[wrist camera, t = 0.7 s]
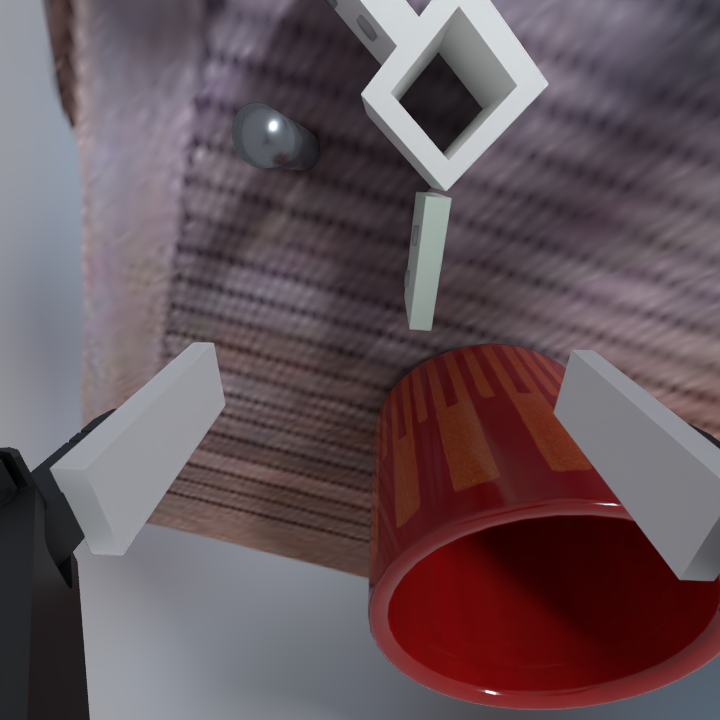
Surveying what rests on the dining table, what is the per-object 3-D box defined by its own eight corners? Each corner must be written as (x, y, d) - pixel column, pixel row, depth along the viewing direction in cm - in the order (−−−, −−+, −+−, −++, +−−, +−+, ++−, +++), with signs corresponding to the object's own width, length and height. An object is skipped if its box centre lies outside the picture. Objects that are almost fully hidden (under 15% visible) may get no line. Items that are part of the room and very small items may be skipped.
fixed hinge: (355, -90, 23) (343, -209, 16) (505, 107, 27) (548, 84, 20) (285, 23, 26) (247, -35, 19) (431, 187, 30) (446, 191, 23)
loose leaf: (435, 192, 30) (451, 198, 23) (421, 298, 34) (431, 330, 27) (412, 191, 30) (421, 196, 23) (400, 296, 34) (405, 328, 27)
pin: (298, 118, 28) (253, 88, 18) (327, 148, 29) (298, 134, 19) (275, 150, 29) (221, 138, 20) (304, 178, 30) (265, 180, 20)
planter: (333, 409, 41) (293, 594, 23) (525, 292, 33) (689, 428, 16) (441, 526, 48) (474, 733, 30) (616, 452, 41) (796, 667, 23)
